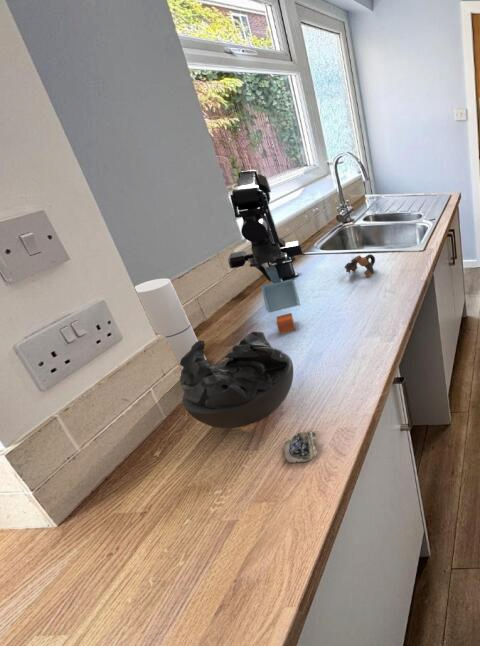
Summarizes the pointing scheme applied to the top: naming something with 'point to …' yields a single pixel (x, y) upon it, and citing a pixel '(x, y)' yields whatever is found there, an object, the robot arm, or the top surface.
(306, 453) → the geode slice
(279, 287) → the pale blue channel tray
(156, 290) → the cylindrical container
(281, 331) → the block
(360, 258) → the toy animal figurine
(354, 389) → the top surface
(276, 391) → the bowl of black rocks
